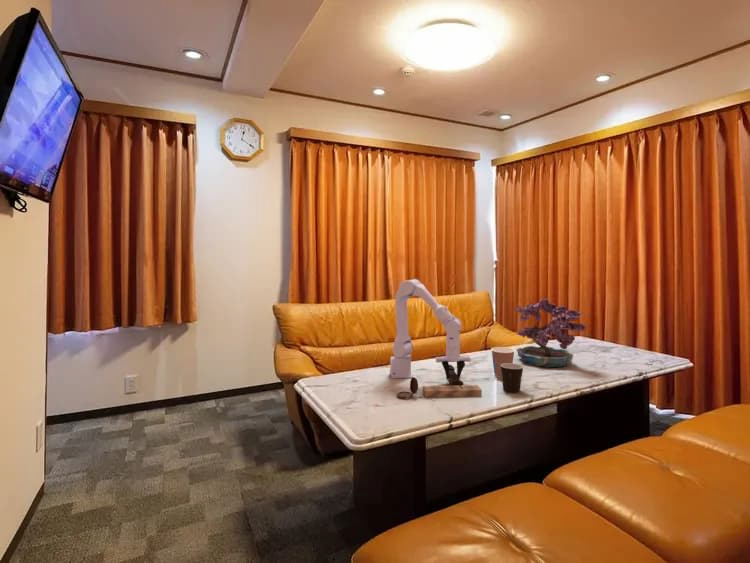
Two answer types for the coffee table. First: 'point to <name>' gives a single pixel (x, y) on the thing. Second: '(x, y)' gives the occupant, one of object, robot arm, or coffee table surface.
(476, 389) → the light brown wooden board
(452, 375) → the hand tool
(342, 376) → the coffee table surface
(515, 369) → the coffee mug
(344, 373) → the coffee table surface
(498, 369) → the coffee cup
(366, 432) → the coffee table surface
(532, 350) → the bonsai tree
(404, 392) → the compass
